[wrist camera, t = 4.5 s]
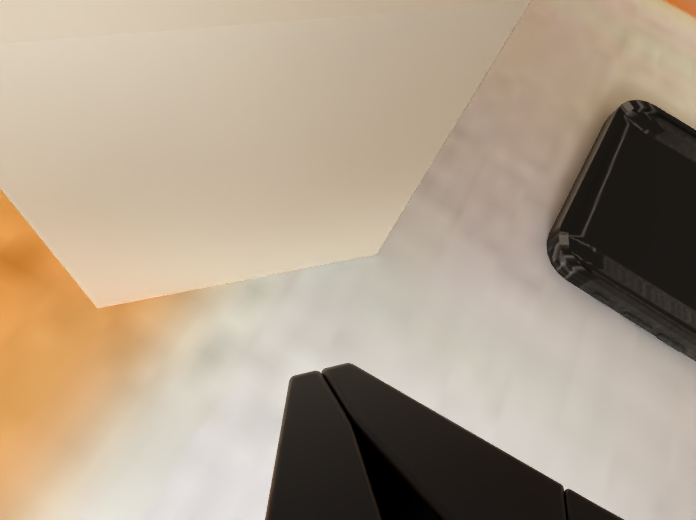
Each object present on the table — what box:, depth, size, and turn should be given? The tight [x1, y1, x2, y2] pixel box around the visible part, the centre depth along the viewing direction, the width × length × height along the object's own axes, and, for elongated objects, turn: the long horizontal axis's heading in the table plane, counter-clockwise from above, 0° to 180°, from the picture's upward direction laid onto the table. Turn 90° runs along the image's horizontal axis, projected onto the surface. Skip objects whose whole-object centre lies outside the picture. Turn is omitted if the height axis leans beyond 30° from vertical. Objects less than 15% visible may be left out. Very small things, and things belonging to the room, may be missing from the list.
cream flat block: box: [0, 0, 531, 308], centre depth 12 cm, size 3×8×10 cm, turn 105°
